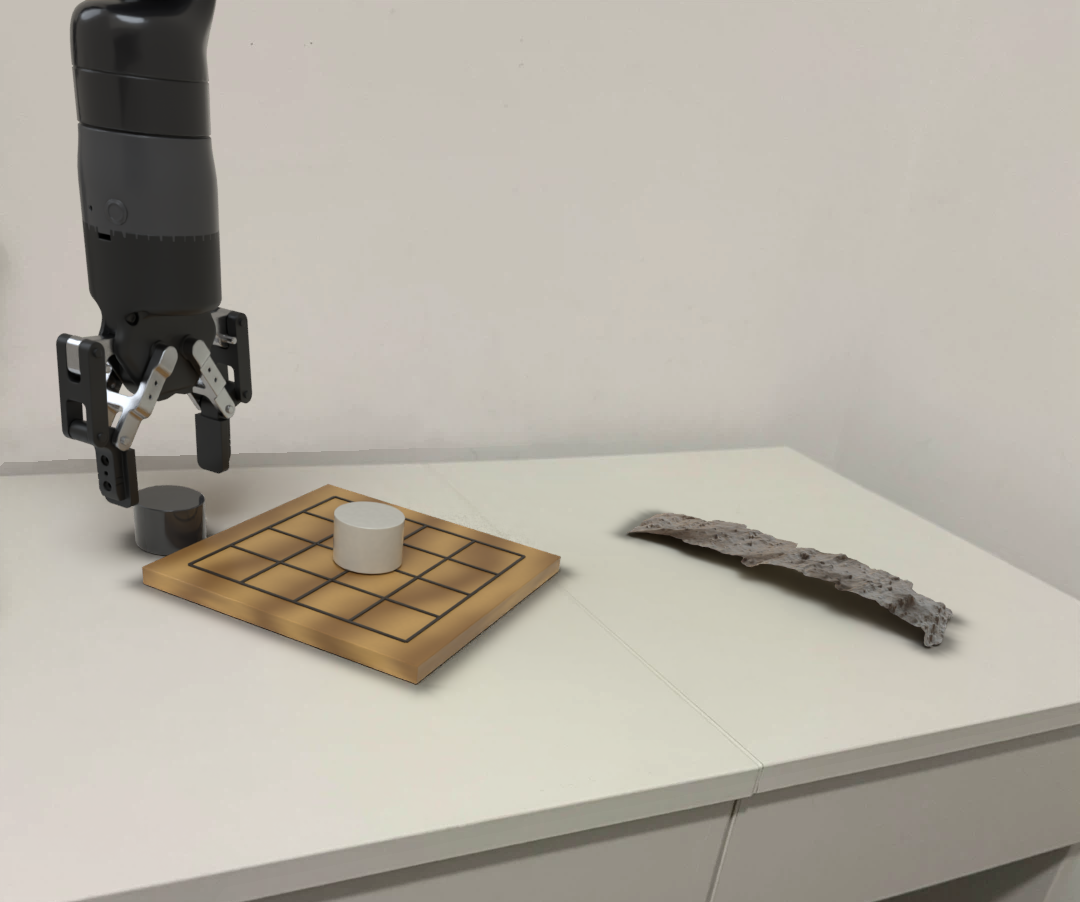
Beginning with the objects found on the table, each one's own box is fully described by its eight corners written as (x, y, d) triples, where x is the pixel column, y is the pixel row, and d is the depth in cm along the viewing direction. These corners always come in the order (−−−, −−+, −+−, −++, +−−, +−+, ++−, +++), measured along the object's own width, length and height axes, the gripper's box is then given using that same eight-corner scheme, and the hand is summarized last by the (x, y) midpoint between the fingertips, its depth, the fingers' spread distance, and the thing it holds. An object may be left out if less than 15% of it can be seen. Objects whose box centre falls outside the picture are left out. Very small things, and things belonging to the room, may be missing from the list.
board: (142, 583, 67) (141, 564, 66) (327, 498, 83) (328, 481, 82) (416, 684, 61) (417, 664, 60) (559, 571, 77) (561, 554, 76)
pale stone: (318, 560, 70) (319, 514, 68) (357, 539, 73) (359, 495, 72) (378, 580, 68) (380, 534, 67) (414, 558, 72) (418, 514, 70)
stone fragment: (937, 658, 74) (955, 607, 81) (952, 622, 72) (969, 574, 80) (607, 550, 81) (652, 512, 89) (613, 515, 80) (659, 480, 87)
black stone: (120, 542, 71) (116, 497, 69) (168, 523, 75) (166, 479, 73) (174, 562, 70) (172, 516, 68) (221, 541, 73) (219, 497, 72)
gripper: (185, 201, 68) (198, 448, 77) (1, 213, 57) (40, 501, 65) (281, 222, 66) (283, 473, 74) (108, 238, 55) (134, 533, 63)
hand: (169, 486), depth 70 cm, fingers open, 8 cm apart
